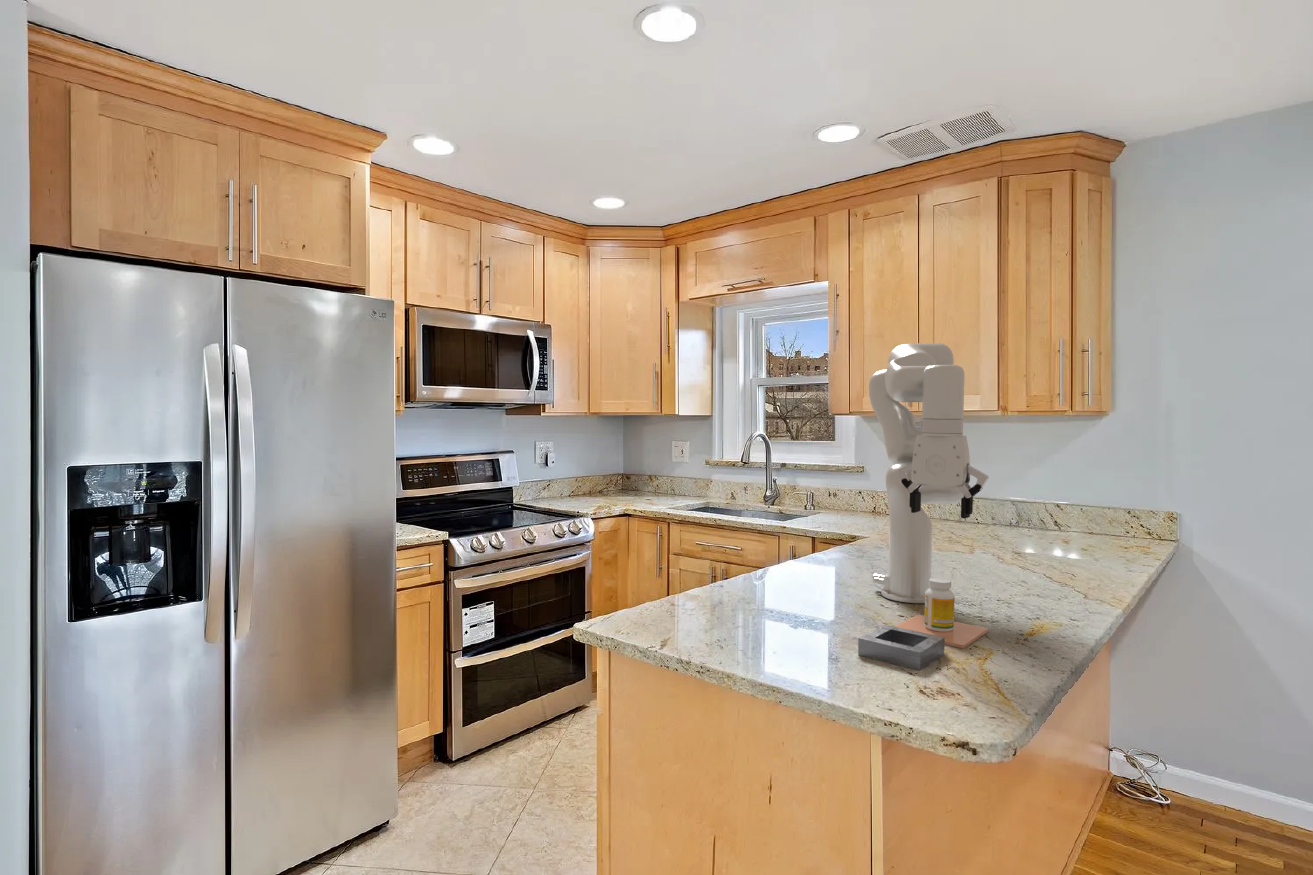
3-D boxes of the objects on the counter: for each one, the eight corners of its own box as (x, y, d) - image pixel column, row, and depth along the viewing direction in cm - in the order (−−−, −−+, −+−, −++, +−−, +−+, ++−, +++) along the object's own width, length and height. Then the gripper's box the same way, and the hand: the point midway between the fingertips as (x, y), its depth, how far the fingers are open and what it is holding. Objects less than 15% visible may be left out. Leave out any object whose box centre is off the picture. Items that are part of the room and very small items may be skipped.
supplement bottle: (918, 626, 137) (919, 578, 137) (937, 622, 139) (938, 575, 139) (940, 634, 132) (941, 584, 132) (960, 630, 134) (961, 581, 134)
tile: (889, 632, 135) (889, 628, 135) (917, 617, 145) (917, 614, 145) (963, 648, 126) (963, 645, 126) (988, 631, 136) (988, 628, 136)
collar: (858, 654, 122) (858, 637, 122) (884, 640, 130) (885, 624, 130) (920, 670, 114) (920, 652, 114) (944, 653, 123) (944, 637, 122)
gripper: (891, 427, 138) (889, 512, 139) (982, 430, 127) (979, 522, 128) (906, 426, 144) (905, 508, 145) (995, 429, 132) (992, 517, 133)
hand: (940, 514), depth 136 cm, fingers open, 9 cm apart
